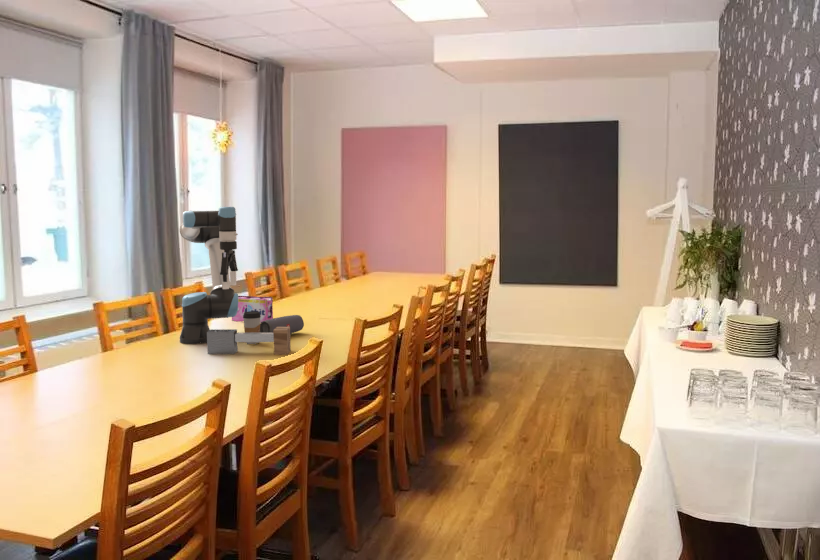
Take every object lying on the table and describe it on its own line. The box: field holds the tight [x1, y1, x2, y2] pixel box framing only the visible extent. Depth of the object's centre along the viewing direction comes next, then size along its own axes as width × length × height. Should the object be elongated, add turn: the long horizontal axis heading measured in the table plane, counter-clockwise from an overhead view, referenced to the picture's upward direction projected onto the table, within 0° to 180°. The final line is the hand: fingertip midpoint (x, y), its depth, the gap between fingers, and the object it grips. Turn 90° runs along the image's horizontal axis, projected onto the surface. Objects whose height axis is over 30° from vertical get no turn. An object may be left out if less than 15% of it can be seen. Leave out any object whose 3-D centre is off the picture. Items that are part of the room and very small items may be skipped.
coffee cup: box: [243, 311, 261, 345], centre depth 345 cm, size 8×8×15 cm
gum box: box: [231, 295, 274, 323], centre depth 407 cm, size 24×8×14 cm, turn 69°
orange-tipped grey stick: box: [234, 332, 274, 343], centre depth 325 cm, size 4×25×4 cm, turn 90°
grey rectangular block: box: [206, 328, 239, 355], centre depth 326 cm, size 6×12×10 cm, turn 89°
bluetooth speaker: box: [260, 314, 305, 336], centre depth 362 cm, size 23×9×10 cm, turn 143°
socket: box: [273, 327, 292, 355], centre depth 325 cm, size 8×6×11 cm
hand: (229, 287), depth 331 cm, fingers open, 13 cm apart
